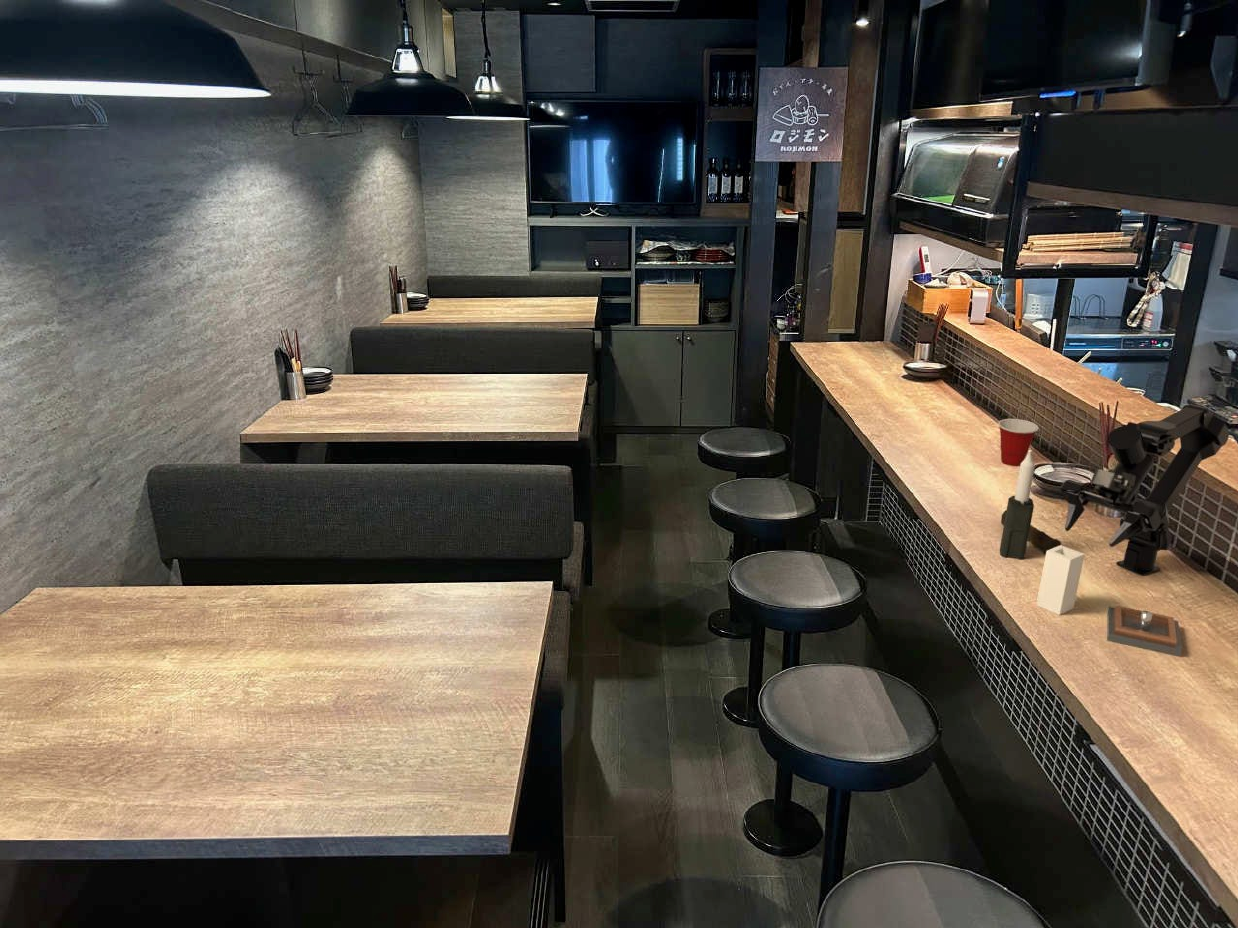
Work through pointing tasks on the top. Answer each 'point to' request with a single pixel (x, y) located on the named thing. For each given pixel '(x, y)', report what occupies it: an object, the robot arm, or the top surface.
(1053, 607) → the sleeve
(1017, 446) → the plastic cup
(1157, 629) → the seat plate
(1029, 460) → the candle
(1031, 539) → the hand tool
